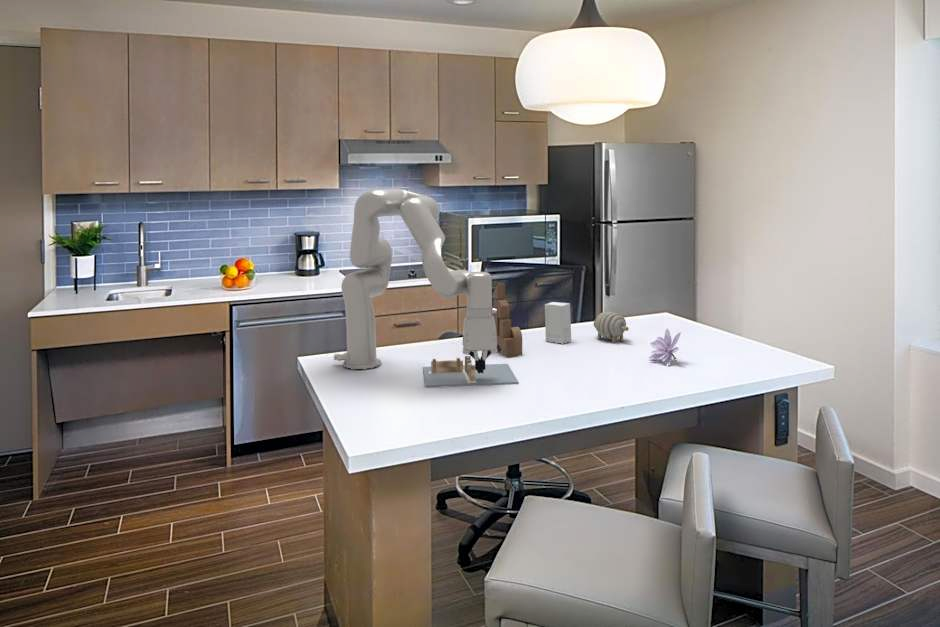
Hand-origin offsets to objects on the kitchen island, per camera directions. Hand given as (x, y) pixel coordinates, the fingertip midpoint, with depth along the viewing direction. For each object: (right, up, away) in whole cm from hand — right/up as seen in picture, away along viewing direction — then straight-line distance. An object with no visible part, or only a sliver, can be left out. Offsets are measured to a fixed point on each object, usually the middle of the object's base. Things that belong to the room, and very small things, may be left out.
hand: (480, 372), depth 219 cm
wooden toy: (+9, +4, +37) cm, 39 cm away
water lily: (+61, +1, +21) cm, 65 cm away
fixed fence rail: (-10, 0, +9) cm, 14 cm away
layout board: (-4, -2, +6) cm, 8 cm away
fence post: (-4, -1, +9) cm, 10 cm away
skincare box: (+30, +7, +52) cm, 61 cm away
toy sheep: (+50, +7, +53) cm, 73 cm away
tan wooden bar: (-3, -1, +3) cm, 4 cm away
